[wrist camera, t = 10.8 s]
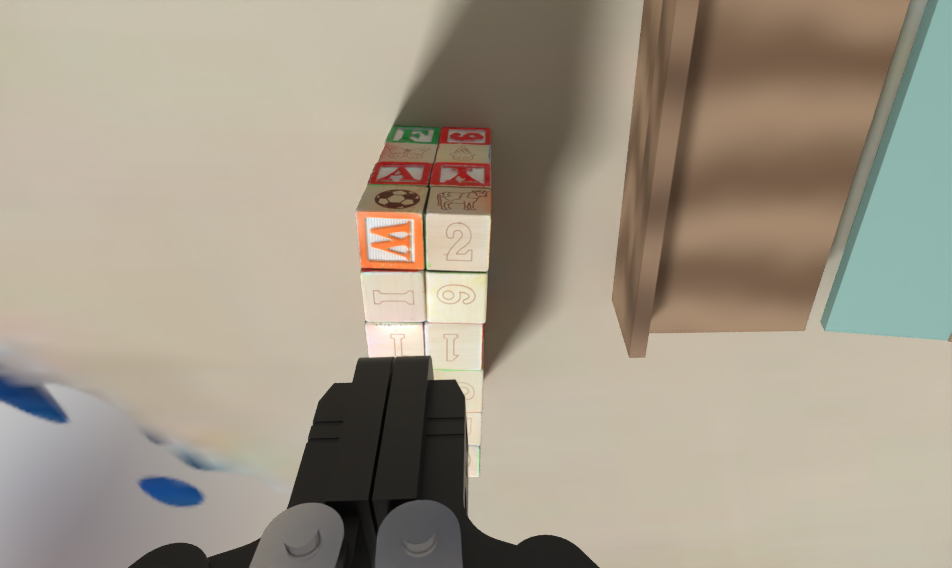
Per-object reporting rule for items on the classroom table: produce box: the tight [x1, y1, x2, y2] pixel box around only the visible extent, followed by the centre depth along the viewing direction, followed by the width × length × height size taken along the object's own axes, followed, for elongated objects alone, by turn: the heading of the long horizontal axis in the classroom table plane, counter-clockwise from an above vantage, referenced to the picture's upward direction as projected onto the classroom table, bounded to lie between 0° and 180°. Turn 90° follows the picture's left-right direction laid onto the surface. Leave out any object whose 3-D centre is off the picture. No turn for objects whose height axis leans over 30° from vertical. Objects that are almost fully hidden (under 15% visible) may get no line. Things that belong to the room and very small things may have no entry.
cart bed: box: [612, 0, 910, 358], centre depth 36 cm, size 22×12×6 cm, turn 2°
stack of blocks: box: [356, 126, 491, 477], centre depth 39 cm, size 21×6×12 cm, turn 179°
